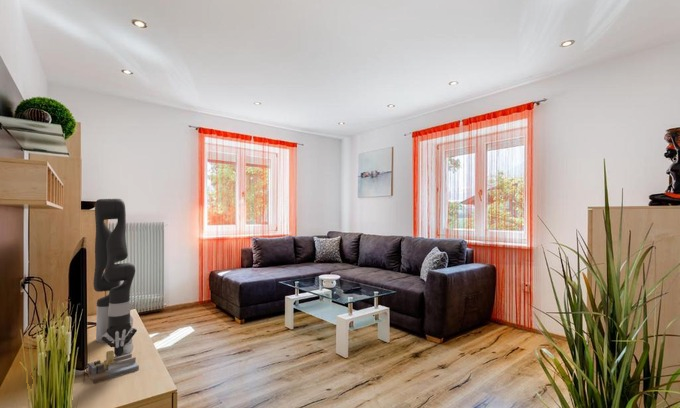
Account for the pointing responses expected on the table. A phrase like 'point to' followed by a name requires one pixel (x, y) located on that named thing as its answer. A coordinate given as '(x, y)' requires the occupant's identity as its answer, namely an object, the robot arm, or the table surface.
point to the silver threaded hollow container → (129, 346)
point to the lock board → (112, 368)
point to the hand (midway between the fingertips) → (118, 355)
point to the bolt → (107, 359)
